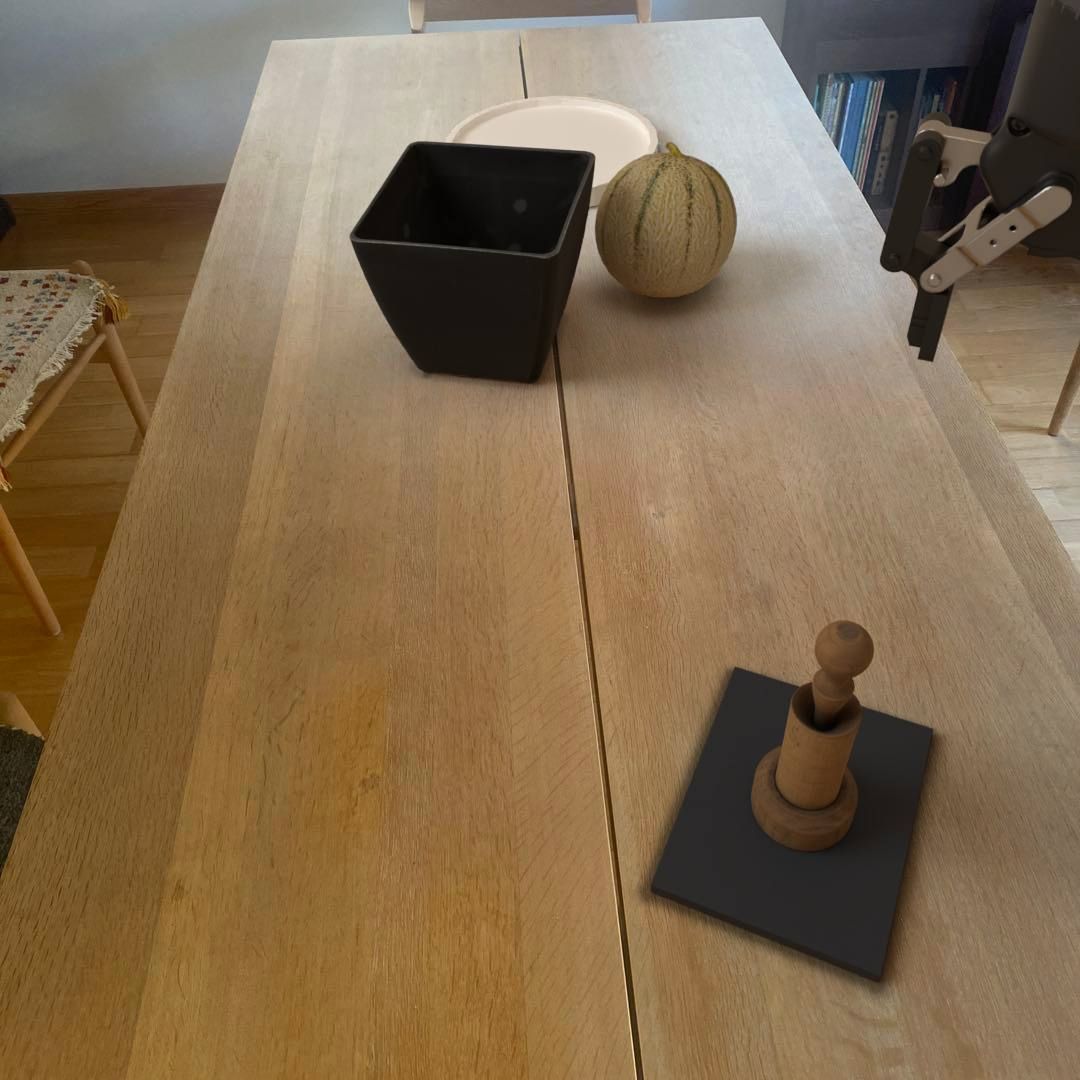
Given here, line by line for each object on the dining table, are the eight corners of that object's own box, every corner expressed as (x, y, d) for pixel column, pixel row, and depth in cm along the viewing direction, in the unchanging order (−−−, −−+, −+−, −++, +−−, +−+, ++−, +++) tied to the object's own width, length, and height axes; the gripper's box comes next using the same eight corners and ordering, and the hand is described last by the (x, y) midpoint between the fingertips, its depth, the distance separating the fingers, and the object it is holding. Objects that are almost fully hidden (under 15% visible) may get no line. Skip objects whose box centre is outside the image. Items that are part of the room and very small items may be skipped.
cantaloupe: (609, 334, 104) (609, 199, 93) (584, 261, 114) (581, 131, 103) (748, 316, 105) (764, 180, 94) (710, 245, 115) (721, 115, 104)
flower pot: (563, 410, 95) (556, 252, 83) (376, 391, 99) (344, 237, 87) (598, 300, 108) (597, 149, 96) (432, 287, 112) (410, 140, 99)
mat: (930, 736, 69) (933, 728, 68) (877, 982, 58) (881, 976, 57) (733, 674, 73) (734, 665, 73) (650, 891, 62) (650, 884, 62)
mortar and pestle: (734, 772, 67) (765, 599, 54) (825, 750, 68) (876, 573, 55) (774, 863, 62) (818, 697, 49) (870, 838, 63) (938, 668, 50)
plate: (407, 193, 127) (405, 174, 125) (498, 103, 144) (496, 86, 143) (615, 227, 119) (615, 207, 117) (684, 127, 136) (685, 109, 134)
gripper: (924, -2, 33) (847, 387, 45) (1444, 38, 28) (1205, 460, 40) (960, -74, 37) (881, 297, 49) (1413, -49, 33) (1206, 353, 45)
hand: (1027, 370), depth 45 cm, fingers open, 8 cm apart
